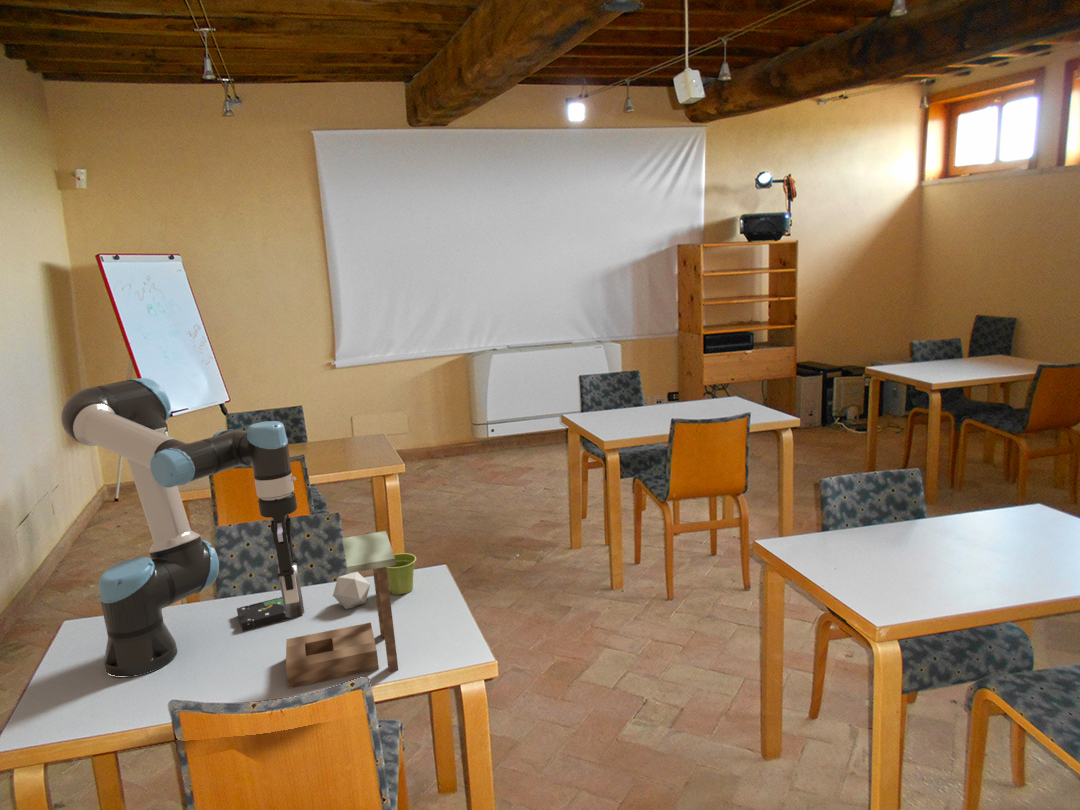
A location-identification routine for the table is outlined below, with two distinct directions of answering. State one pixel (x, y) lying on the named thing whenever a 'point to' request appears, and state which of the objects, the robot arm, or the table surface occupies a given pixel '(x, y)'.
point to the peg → (297, 607)
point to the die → (351, 590)
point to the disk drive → (262, 614)
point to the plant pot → (401, 574)
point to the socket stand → (353, 644)
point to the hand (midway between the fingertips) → (292, 597)
